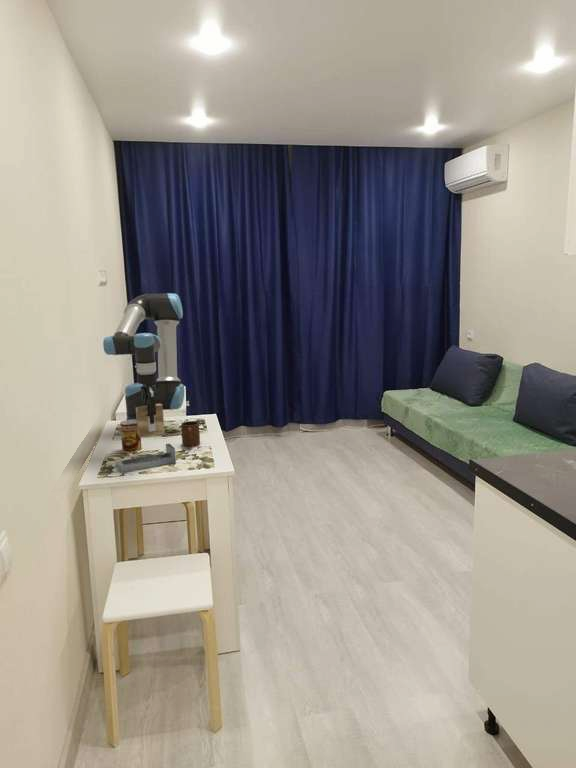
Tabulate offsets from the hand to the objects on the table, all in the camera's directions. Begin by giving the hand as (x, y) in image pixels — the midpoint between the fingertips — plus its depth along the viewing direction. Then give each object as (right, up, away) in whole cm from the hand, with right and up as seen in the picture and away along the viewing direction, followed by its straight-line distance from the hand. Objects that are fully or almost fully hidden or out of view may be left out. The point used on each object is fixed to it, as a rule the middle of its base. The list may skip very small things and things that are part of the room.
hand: (151, 429), depth 229 cm
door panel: (0, -2, 0) cm, 2 cm away
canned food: (-11, -9, +11) cm, 18 cm away
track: (+1, -13, -9) cm, 16 cm away
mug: (+14, -8, +14) cm, 21 cm away
